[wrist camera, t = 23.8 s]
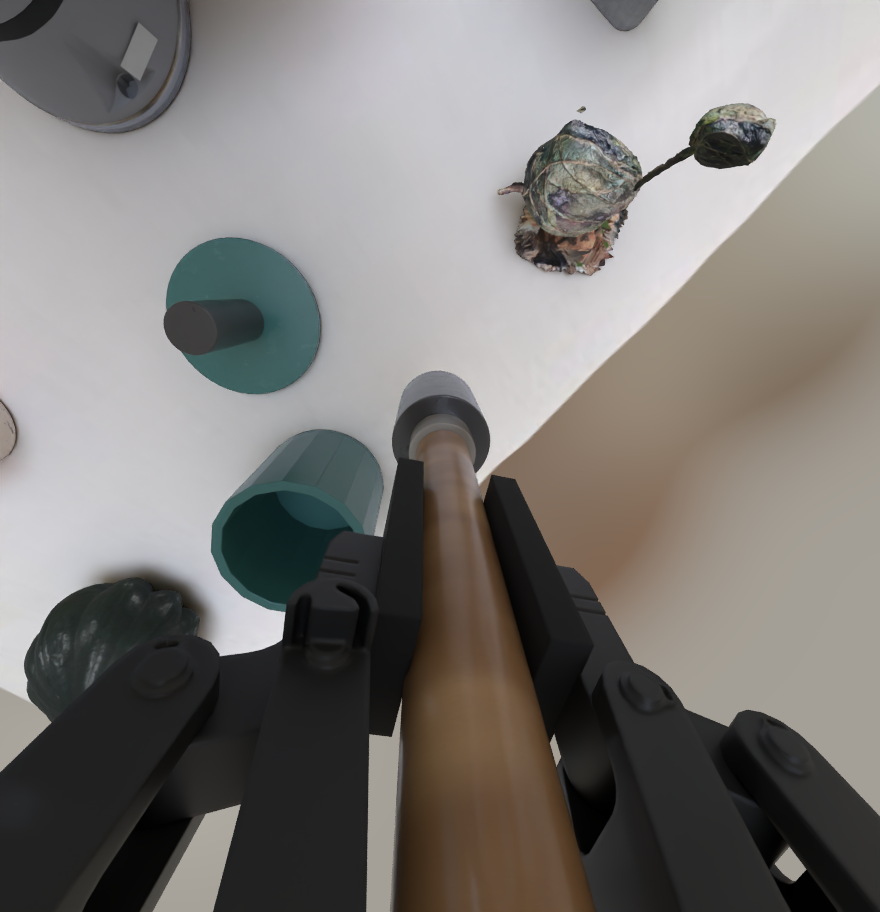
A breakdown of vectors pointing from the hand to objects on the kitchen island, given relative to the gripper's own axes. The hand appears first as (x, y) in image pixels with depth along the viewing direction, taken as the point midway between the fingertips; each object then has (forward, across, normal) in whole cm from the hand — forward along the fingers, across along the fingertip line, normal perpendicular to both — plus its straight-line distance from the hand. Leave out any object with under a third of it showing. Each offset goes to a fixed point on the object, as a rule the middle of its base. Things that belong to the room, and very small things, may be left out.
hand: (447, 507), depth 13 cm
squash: (+29, -27, -36) cm, 53 cm away
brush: (+12, 0, 0) cm, 12 cm away
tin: (+29, -8, -15) cm, 34 cm away
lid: (+28, -17, 0) cm, 33 cm away
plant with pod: (+29, +8, +14) cm, 33 cm away
